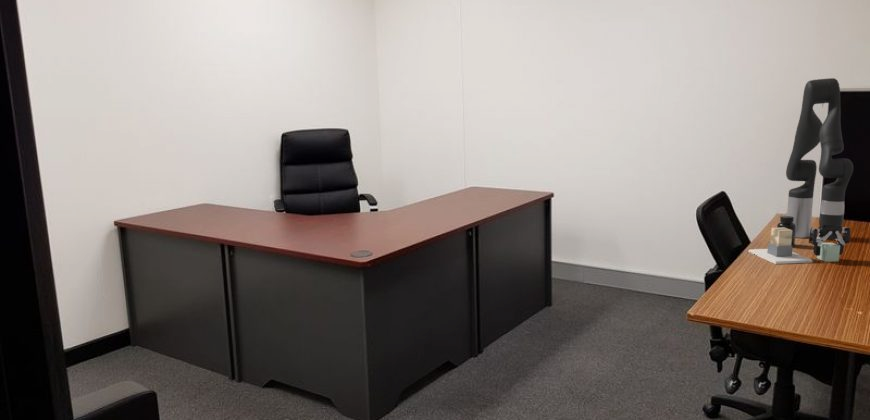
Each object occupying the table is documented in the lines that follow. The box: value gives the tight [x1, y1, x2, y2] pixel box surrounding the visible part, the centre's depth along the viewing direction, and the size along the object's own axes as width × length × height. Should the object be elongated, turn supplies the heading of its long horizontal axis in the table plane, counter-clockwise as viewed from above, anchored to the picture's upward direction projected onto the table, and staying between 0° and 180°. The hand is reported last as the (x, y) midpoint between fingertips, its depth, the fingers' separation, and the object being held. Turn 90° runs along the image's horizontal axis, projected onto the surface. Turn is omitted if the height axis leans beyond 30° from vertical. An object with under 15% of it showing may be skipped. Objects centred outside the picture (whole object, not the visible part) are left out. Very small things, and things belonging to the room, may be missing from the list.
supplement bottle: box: [776, 215, 796, 247], centre depth 253 cm, size 7×7×12 cm
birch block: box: [770, 227, 792, 246], centre depth 235 cm, size 5×5×6 cm
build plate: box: [748, 242, 813, 265], centre depth 236 cm, size 18×14×5 cm
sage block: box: [816, 241, 840, 263], centre depth 231 cm, size 5×5×6 cm
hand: (828, 254), depth 231 cm, fingers open, 8 cm apart
